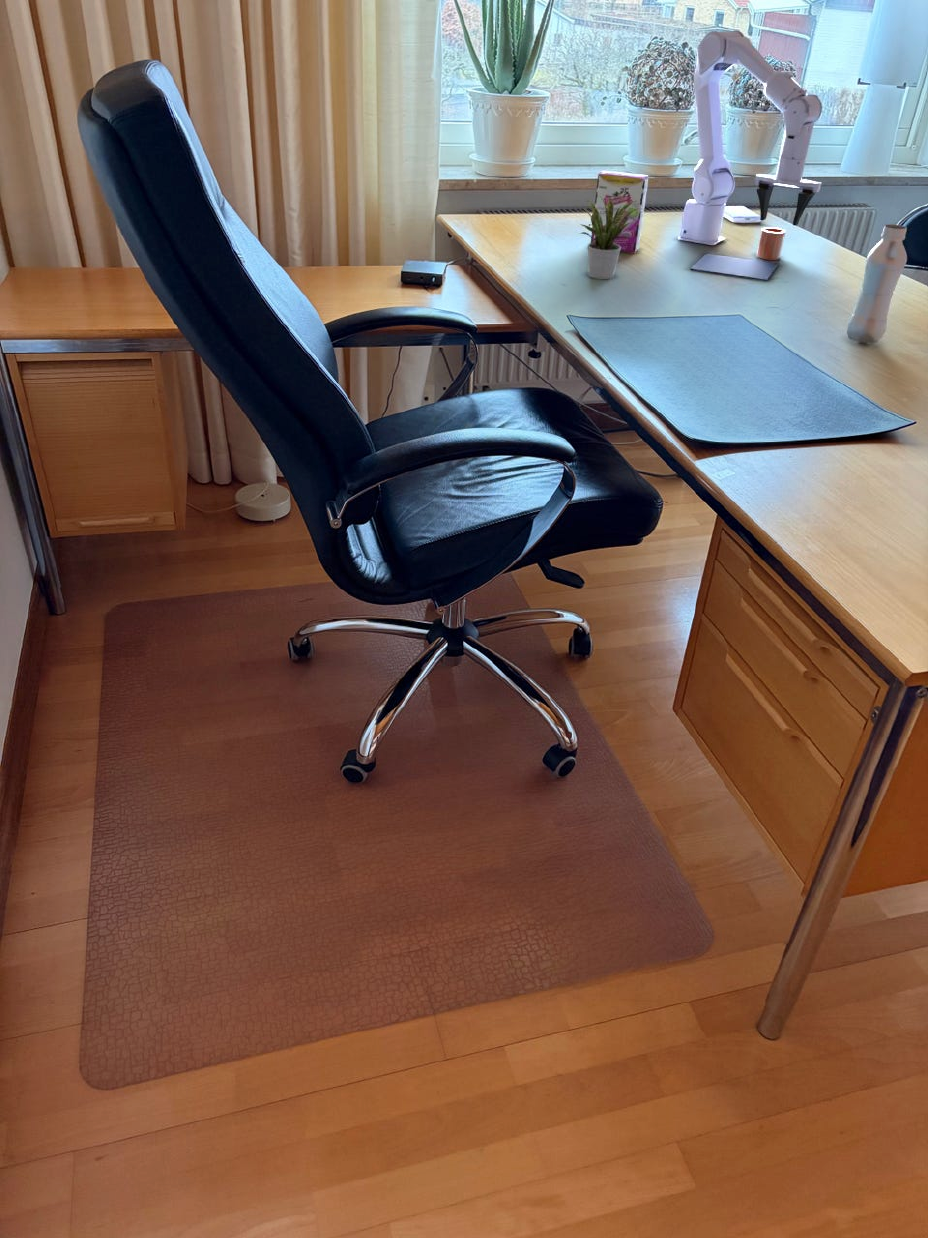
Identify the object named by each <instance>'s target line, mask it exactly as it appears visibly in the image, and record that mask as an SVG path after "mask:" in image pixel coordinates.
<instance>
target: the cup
mask: <svg viewBox="0 0 928 1238" xmlns="http://www.w3.org/2000/svg"><path fill="white" fill-rule="evenodd" d="M786 232H787V231H786V230H785V229H782V228H779V227H772V226H771V227H763V228H761V232H760V237H759V241H758V247H757V251H756V258H758V259H762V260H767V261H776V260H779V259H780V258H781V255H782V250H783V245H784V241H785V236H786Z"/></svg>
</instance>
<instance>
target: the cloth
mask: <svg viewBox="0 0 928 1238" xmlns="http://www.w3.org/2000/svg"><path fill="white" fill-rule="evenodd" d="M779 266H780V263H777V262H770V261H763V260H757V259H756V260H755V259H749V258H741V257H734V256H726V255H720V254H713V253H705V254H704V255H703V256H702V257H701V258H700V259H699V260H698V261H697V262H695V264H694V265H693V266H692V267H690V271H695V272H703V273H710V274H716V275H724V276H730V277H736V278H743V279H751V280H758V281H765V282H767V281H768V280H769V278H770V277H771V276H772V275H773V273H774V272H775V271H776V270H777V268H778V267H779Z"/></svg>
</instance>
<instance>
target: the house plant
mask: <svg viewBox="0 0 928 1238" xmlns="http://www.w3.org/2000/svg"><path fill="white" fill-rule="evenodd" d="M599 196H600V195H599ZM600 197H601V196H600ZM605 198H606V197H605ZM601 199H602V198H601ZM606 200H607V199H606ZM586 201H587V203H588V204H589V206H590V208H591V210H592V214H590V212H589V211H588V210H586V209H585V208H583V210H585V212H586V213H587V214H588V216H589V217H590V222H591V224H588V225H586V224H581V223H580V224H579V225H580V226H581V227H584V228H585V229H586V230H588V231H589V232H591V234H592V233H593V234H594V235H595V241H594V240H593V241H594V242H593V243H591V242H590V243H588V244H587V255H588V256H587V258H588V273H589V274H588V275H589V277H591V278H592V279H597V280H609V279H612V278H613V277H614V274H615V271H616V267H617V263H618V260H619V257H620V252H621V251H620V249H621V246H620V245H618V244H615V243H614V241H615V240H616V238H626V239H628V238H627V237H625V236H619V235H620V232H621V231H622V230H623V229H624V228H625V227H626V226H627V225H628V224H631V223H627V224H625V225H624V226H622V227H621V225H622V223H623V222H624V221H625V219H626V218H627V217H628V216H629V215H630V214H631V213H632V212H633V211H636V210H639V209H635V210H632V211H630V212H629V213H627V214H626V216H625V217H624V218H623V219H622V221H621V223H620V224H619V225H618V226H616V224H617V222H618V221H619V220H620V219H621V217H622V216H623V215H624V214H622V213H623V212H624V211H625V210H626V208H627V207H629V206H630V205H631V204H632V203H634V202H636V201H632V202H629V203H627V204H626V205H623V207H622V209H621V210H620V211H619V209H620V207H621V206H620V207H619V208H618V209H617V211H616V214H615V216H614V219H613V222H612V217H613V204H612V202H611V200H610V199H608V202H607V206H606V204H605V202H604V200H603V199H602V201H603V202H604V205H605V210H606V228H605V226H603V222H602V218H601V215H600V213H599V212H598V210H597V209H596V207H595V204H593V203H592V202H591V201H590V200H586ZM578 207H579V208H580V206H578ZM607 207H608V210H607ZM618 211H619V212H618ZM595 220H596V221H595ZM596 222H597V224H596ZM592 226H593V228H592ZM620 227H621V228H620ZM598 228H599V229H598ZM623 233H630V234H631V232H630V231H625V232H623ZM580 234H582V235H586V236H588V237H589V238H590V239H591V238H592V237H591V234H589V233H588V232H586V231H583V232H580V233H579V235H580ZM613 234H614V235H613ZM612 236H613V237H612ZM618 236H619V237H618ZM631 236H632V234H631ZM611 238H612V239H611ZM592 239H593V238H592ZM610 240H611V241H610Z"/></svg>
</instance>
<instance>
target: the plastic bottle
mask: <svg viewBox="0 0 928 1238" xmlns="http://www.w3.org/2000/svg"><path fill="white" fill-rule="evenodd" d="M882 229H883V230H882V232H881V234H880V238H881V240H880V241H879V242H878V243H876V245H875V246H874V247H873V248H872V249H871V250H870V251H869V252H868V255H867V257H866V261H865V262H866V263H865V268H864V273H863V274H864V276H863V281H862V285H861V290H860V293H859V296H858V300H857V302H856V305H855V307H854V311H853V313H852V314H851V316H850V318H849V319H848V323H847V327H846V334H847V338H848V339H850V340H851V341H853V342H857V343H861V344H862V343H863V344H875V343H878V342H879V341H880V340H881V339H883V337H884V335H885V333H886V331H887V326H888V316H889V311H890V306H891V301H892V299H893V296H894V292H895V290H896V287H897V284H898V282H899V279H900V277H901V275H902V273H903V271H904V268H905V266H906V264H907V261H908V255H907V252H906V249H905V246H904V244H903V241H904V240H905V239H906V234H907V229H908V227H907V226H904V225H902V224H891V223H890V224H884V226H883V228H882Z"/></svg>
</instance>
